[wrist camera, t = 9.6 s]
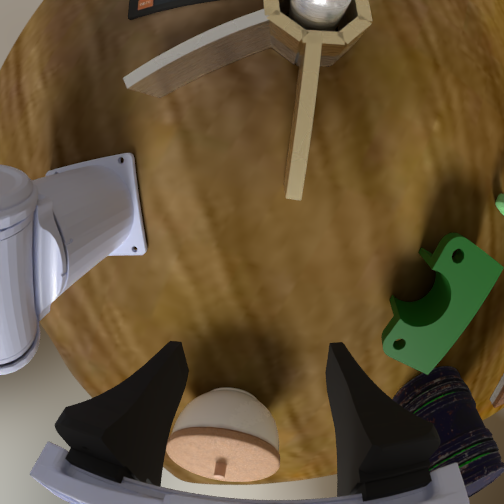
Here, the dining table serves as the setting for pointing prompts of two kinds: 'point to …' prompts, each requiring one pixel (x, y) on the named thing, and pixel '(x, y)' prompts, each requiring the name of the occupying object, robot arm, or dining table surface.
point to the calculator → (157, 6)
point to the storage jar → (454, 426)
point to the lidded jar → (226, 437)
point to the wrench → (500, 203)
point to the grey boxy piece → (498, 394)
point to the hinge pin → (318, 13)
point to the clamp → (441, 304)
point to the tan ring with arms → (252, 41)
